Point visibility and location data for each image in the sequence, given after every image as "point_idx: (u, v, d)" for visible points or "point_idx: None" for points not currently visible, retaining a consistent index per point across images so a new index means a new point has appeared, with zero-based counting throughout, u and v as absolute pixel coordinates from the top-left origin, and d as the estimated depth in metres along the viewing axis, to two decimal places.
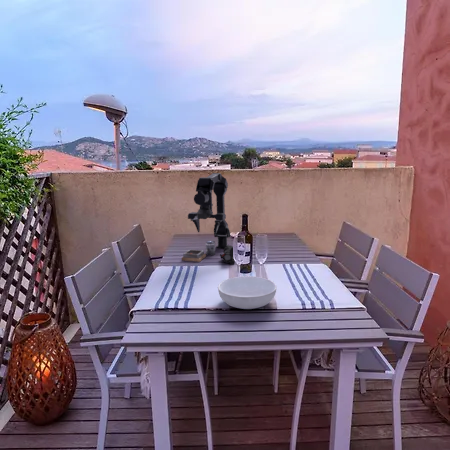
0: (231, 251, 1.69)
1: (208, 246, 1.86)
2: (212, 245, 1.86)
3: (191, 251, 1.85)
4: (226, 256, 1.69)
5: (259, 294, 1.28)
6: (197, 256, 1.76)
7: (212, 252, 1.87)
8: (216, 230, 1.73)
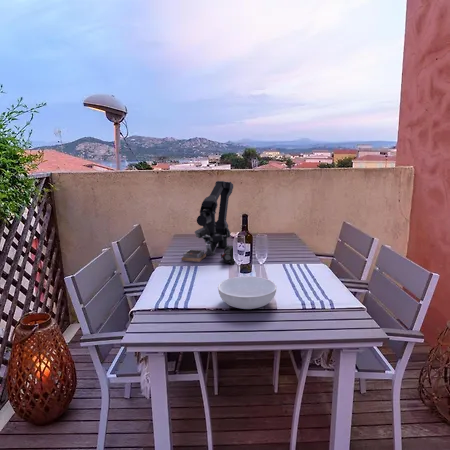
0: (231, 251, 1.69)
1: (208, 246, 1.86)
2: None
3: (191, 251, 1.85)
4: (226, 256, 1.69)
5: (259, 294, 1.28)
6: (197, 256, 1.76)
7: (212, 252, 1.87)
8: (212, 249, 1.86)
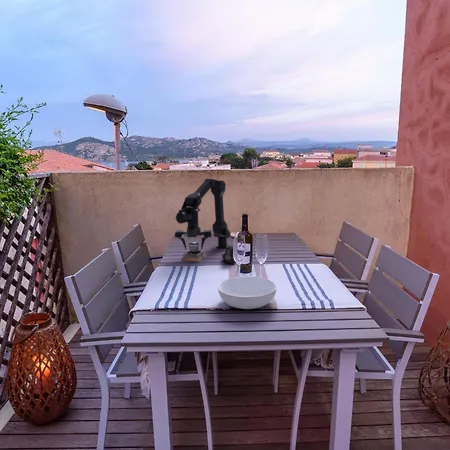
0: (231, 251, 1.69)
1: (196, 247, 1.78)
2: (198, 245, 1.80)
3: None
4: (226, 256, 1.69)
5: (259, 294, 1.28)
6: (197, 256, 1.76)
7: None
8: (202, 247, 1.80)
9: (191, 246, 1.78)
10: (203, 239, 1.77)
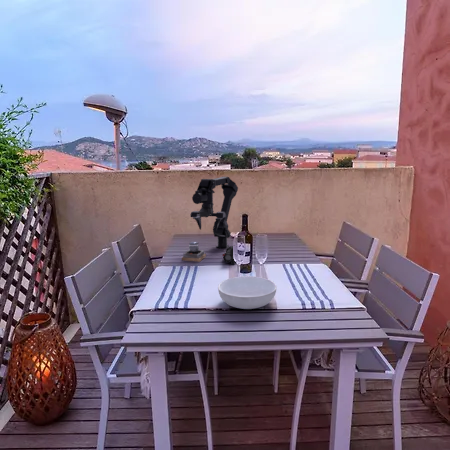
0: (232, 251, 1.69)
1: (196, 247, 1.78)
2: (198, 245, 1.80)
3: None
4: (227, 256, 1.69)
5: (259, 294, 1.28)
6: (197, 256, 1.76)
7: None
8: (217, 227, 1.88)
9: (191, 246, 1.78)
10: (217, 220, 1.85)
